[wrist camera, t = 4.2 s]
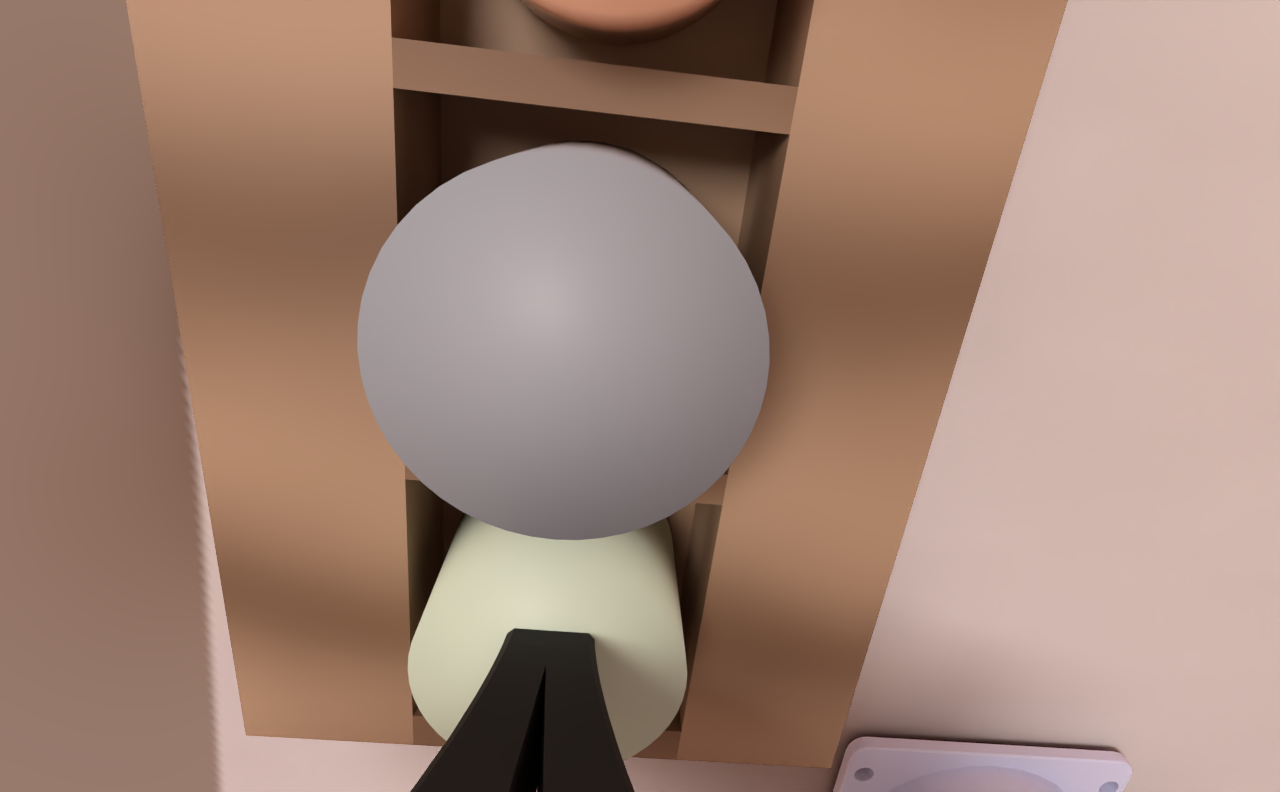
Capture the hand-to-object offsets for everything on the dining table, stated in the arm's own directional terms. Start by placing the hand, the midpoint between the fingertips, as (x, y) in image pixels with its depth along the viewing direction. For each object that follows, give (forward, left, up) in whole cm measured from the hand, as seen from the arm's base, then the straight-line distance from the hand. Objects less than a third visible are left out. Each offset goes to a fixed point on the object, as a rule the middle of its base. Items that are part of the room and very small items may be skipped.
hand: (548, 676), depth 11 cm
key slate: (+6, 0, -2) cm, 6 cm away
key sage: (0, 0, -3) cm, 3 cm away
